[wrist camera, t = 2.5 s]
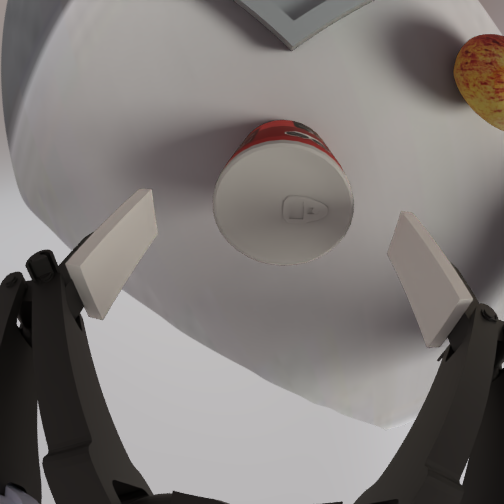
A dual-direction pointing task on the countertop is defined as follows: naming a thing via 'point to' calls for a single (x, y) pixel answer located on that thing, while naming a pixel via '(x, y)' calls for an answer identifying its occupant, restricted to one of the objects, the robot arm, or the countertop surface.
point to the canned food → (283, 196)
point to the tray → (299, 16)
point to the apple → (483, 77)
